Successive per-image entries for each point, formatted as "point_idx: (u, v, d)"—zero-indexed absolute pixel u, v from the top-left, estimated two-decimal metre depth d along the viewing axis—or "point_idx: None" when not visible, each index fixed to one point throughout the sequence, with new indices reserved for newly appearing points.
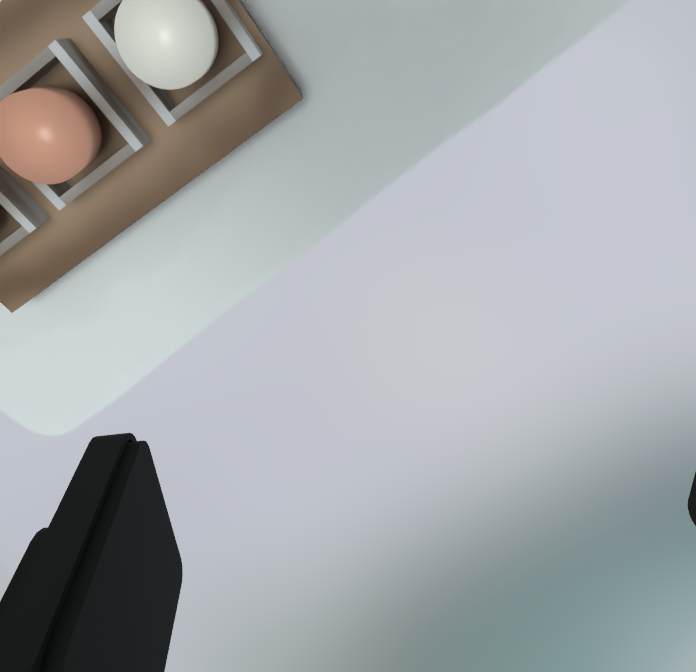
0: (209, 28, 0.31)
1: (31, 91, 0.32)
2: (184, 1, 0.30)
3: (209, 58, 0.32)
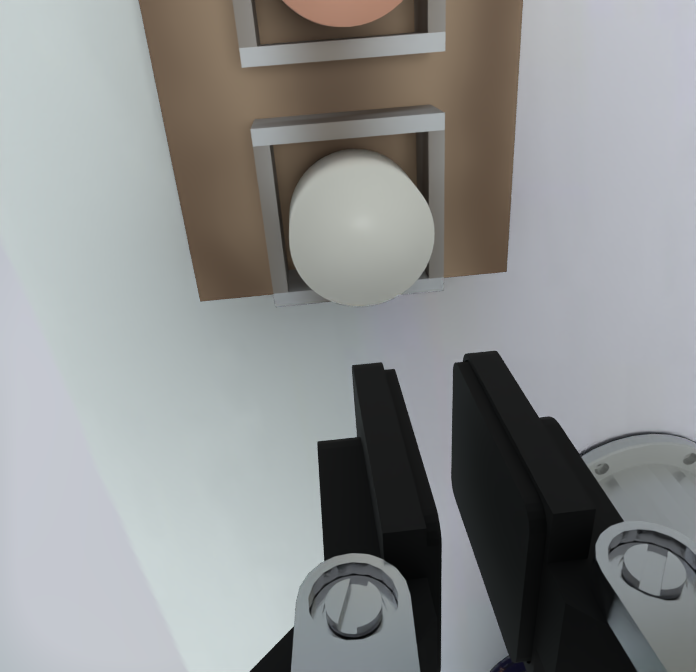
0: (339, 302, 0.21)
1: None
2: (384, 291, 0.21)
3: (306, 281, 0.21)
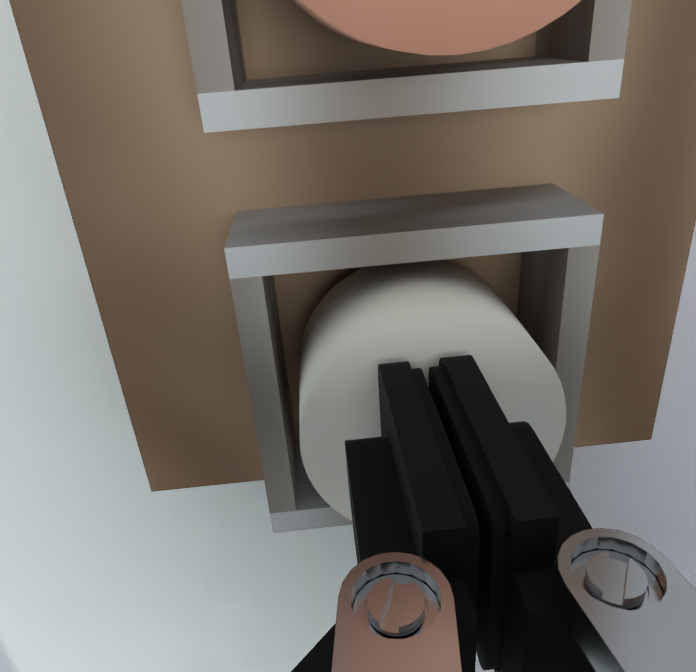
0: None
1: None
2: None
3: (330, 502, 0.12)
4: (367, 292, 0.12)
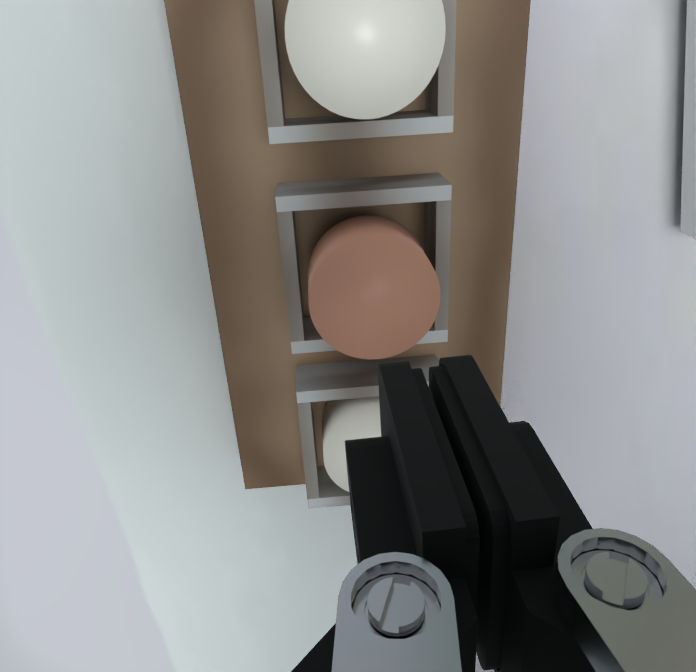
0: None
1: (425, 332, 0.23)
2: None
3: (334, 481, 0.29)
4: None
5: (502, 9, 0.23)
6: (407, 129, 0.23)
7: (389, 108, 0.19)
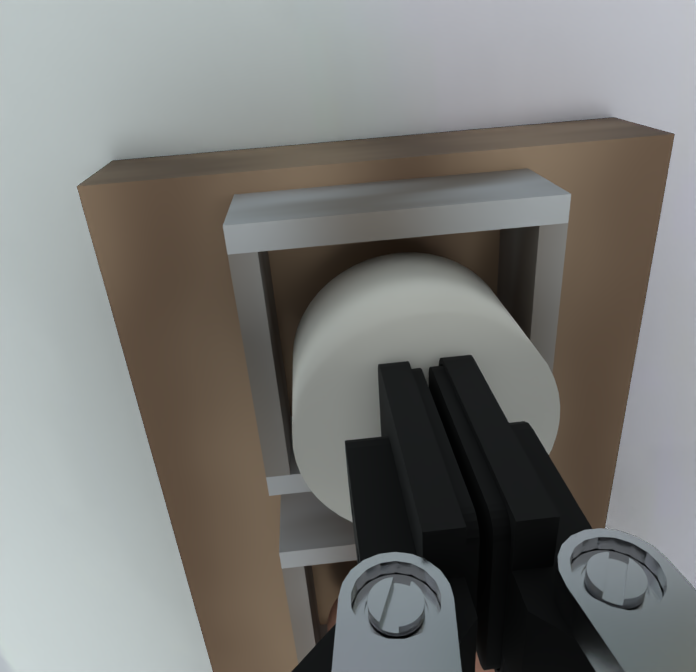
0: None
1: None
2: None
3: None
4: None
5: (610, 272, 0.16)
6: None
7: None
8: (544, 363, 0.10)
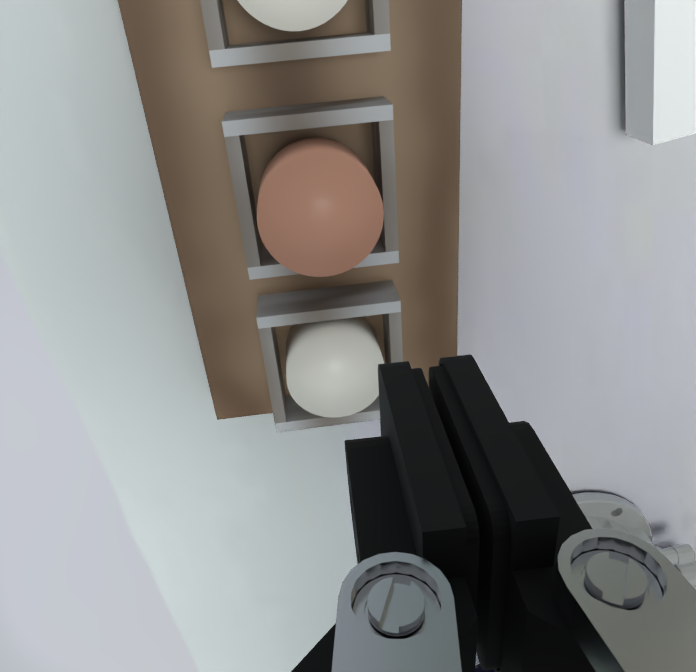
0: (321, 415, 0.31)
1: (371, 248, 0.24)
2: (353, 407, 0.31)
3: (298, 403, 0.30)
4: (311, 323, 0.30)
5: None
6: (345, 48, 0.23)
7: (317, 20, 0.22)
8: None
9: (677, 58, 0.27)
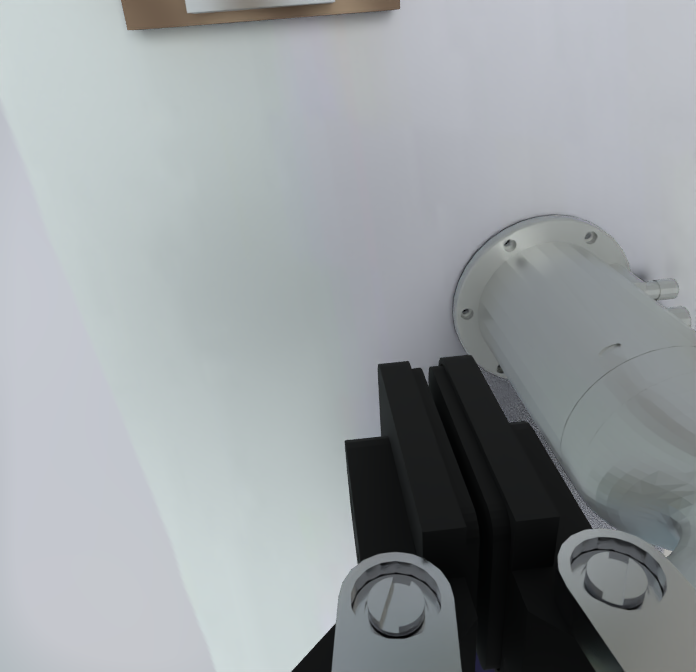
0: None
1: None
2: None
3: None
4: None
5: None
6: None
7: None
8: None
9: None
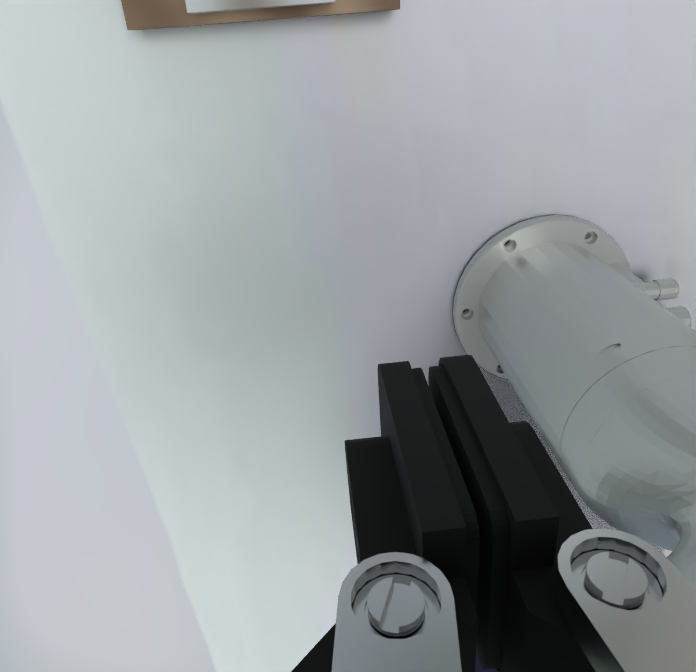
0: None
1: None
2: None
3: None
4: None
5: None
6: None
7: None
8: None
9: None
